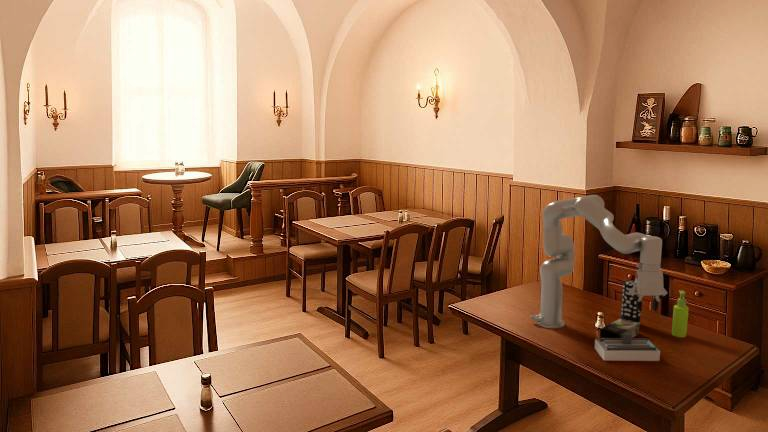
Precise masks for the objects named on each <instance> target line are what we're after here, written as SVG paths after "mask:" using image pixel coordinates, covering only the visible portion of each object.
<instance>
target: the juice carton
mask: <svg viewBox="0 0 768 432" xmlns="http://www.w3.org/2000/svg"><path fill="white" fill-rule="evenodd" d="M624 333H630V334H631V335H632V338H634V337H636V336H638V335H639V334H640V326H639V323H637V322H632V321H629V320H624V319H621V318H618V319H617V320H613V322H610V323H609V324H607V325H606V326H605V325H604V326H603V327H601V328H600V329H599V339H600V338H607V337H608V336H610V335H612V334H615V335H617V338H623V334H624Z"/></svg>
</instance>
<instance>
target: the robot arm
mask: <svg viewBox="0 0 768 432" xmlns="http://www.w3.org/2000/svg"><path fill="white" fill-rule="evenodd" d="M580 216H581V217H582V218H584V219H585V220H586V221H588V222H589V224H591V225H593V226H594V227H595V228H596V229H598V230H599V232H600V235H601V237H602V238H603V240H604V241H605V242H606V244H608V245H609V246H610V247H611V248H613V249H614V250H616V251H618V252H619V253H620V254H624V255H625V254H626V255H627V254H628V255H629V254H632V253H635V252H640V254H639V255H640V256H639V263H637V264H636V265H635V267H636V268H638V269H637V271H636V275H635V279H634V281H635V285H634V287H633V288H632V289H631V290H630V291H629V293H630V294H631V295H632V296H633V297H634V298H635V299H636V300H637V301H636V308H637V309H638V310H639V311H641V312H642V310H643V301H642V302H641V299H642V300H643V297H646V296H647V297H649V296H650V297H651V296H653V299H652V304H651V309H652V310H653V311H654V312H657V311H658V308H659V302H661V299H663V298H664V297H665V296H666V295H668V291H667V290H666V288H664V274H663V270H661V264H662V263H661V262H662V250H663V249H662V248H663V239H662V238H661V237H658V236H655V235H654V236H653V235H647V234H645V233H641V232H632V233H628V234H624V233H623V232H622V231H620V230H619V229H617V228H616V226H615V225H614V224H613V222H614V214H613V213H612V212H611V211H609V210H608V209H606V208H605V201H604V199H603V198H602V197H601V196H599V195H597V194H589V195H583V196H580V197H571V198H565V199H559V200H555V201H552V202H551V203H549V204H547V205H546V206H544V208H543V211H542V227H543V228H542V229H543V230H542V234H543V235H542V242H543V243H542V247H543V248H542V249H543V253H544V254H545V255H546V256H547V257H550V259H545V260H544V262H542V263H541V265H540V267H539V274H540V281H541V288H540V289H541V291H540V294H541V295H540V312H538V314H536V315H533V314H531V315H529V318H530V320H533V321H535V322H536V325H538V326H539V327H542V328H545V329H551V330H552V329H562V328H563V327H564V326H565V321H564V320H563V319H562V314H563V313H562V312H563V310H562V309H563V284H562V280H561V278H563V277H567V276H569V275H570V274H572V273H573V271H574V268H575V243H574V240H573V239H572V236H570V235H569V234H567V233H563V224H562V222H561V220H563V219H569V218H573V217H574V218H575V217H580ZM551 257H552V258H551ZM634 292H637V295H636V294H634Z"/></svg>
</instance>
